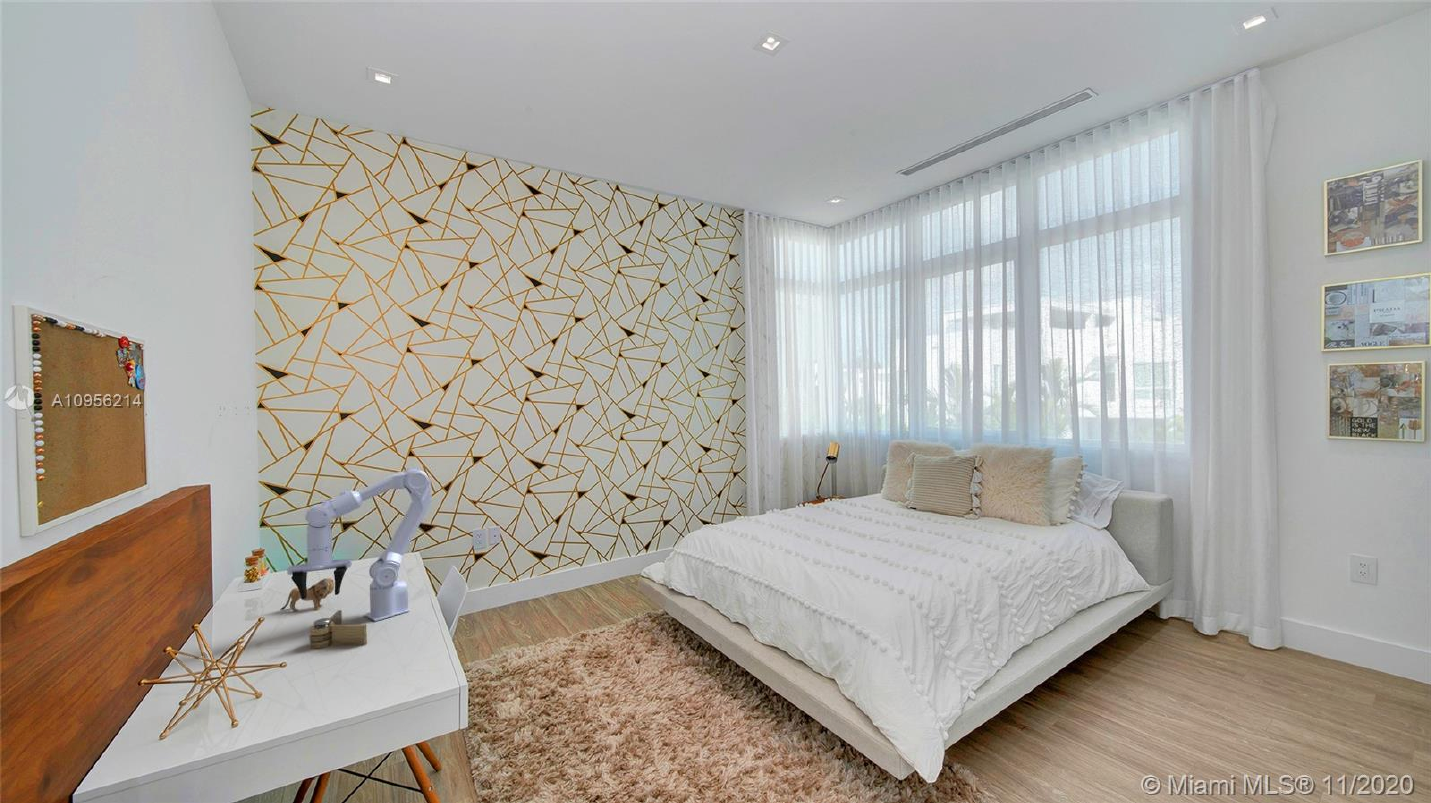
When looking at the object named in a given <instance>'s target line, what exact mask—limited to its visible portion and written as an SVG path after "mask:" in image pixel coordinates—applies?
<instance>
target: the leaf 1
mask: <svg viewBox="0 0 1431 803" xmlns="http://www.w3.org/2000/svg"><path fill="white" fill-rule="evenodd" d="M342 612H343V611H342V609H339V610H337V611H336V612H334V614H333V615H331V616H330V617H329V618H331V621H333V622H334V625H343V622H342V621H343V617H342V616H343V613H342ZM329 638H332V632H329V633H326V634H323V635H311V634H310V633H309V642H310V641H313V642H316V641H324V640H326V639H329Z"/></svg>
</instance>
